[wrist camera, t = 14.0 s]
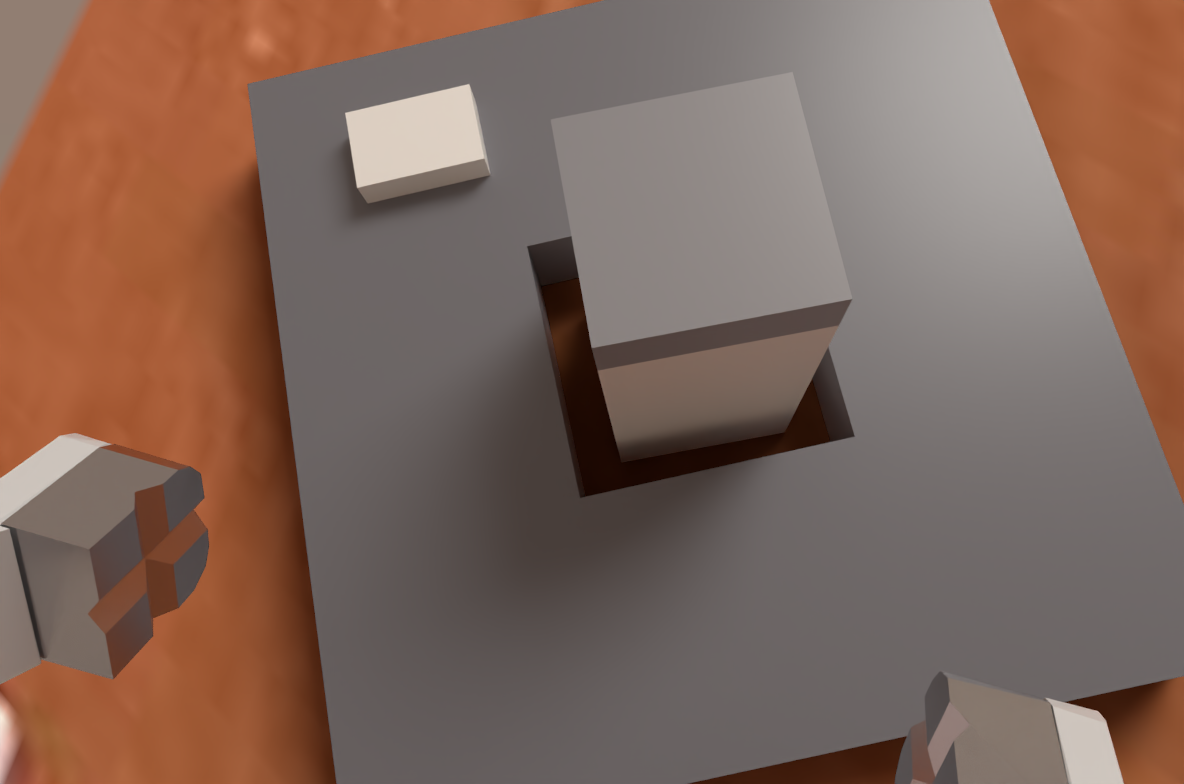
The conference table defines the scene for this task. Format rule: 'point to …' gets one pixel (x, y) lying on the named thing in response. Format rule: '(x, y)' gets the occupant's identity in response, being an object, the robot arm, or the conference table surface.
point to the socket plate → (719, 495)
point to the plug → (702, 261)
